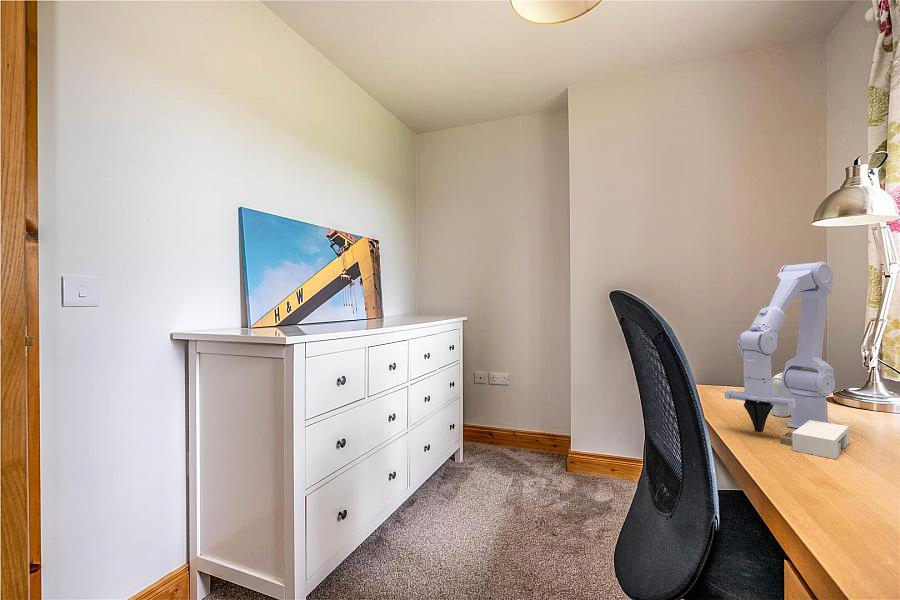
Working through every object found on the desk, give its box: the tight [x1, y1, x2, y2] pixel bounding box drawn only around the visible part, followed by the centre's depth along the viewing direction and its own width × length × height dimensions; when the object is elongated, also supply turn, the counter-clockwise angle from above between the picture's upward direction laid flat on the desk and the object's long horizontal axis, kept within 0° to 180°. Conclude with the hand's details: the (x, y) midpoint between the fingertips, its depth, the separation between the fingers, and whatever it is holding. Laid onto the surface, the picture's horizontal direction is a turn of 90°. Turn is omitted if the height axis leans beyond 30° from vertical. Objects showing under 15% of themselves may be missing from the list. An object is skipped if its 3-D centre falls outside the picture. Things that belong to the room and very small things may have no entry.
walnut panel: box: [779, 431, 793, 447], centre depth 98 cm, size 7×9×2 cm
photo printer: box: [770, 372, 791, 418], centre depth 125 cm, size 10×4×12 cm, turn 123°
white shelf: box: [791, 420, 851, 460], centre depth 97 cm, size 16×7×4 cm, turn 128°
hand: (759, 431), depth 106 cm, fingers closed
